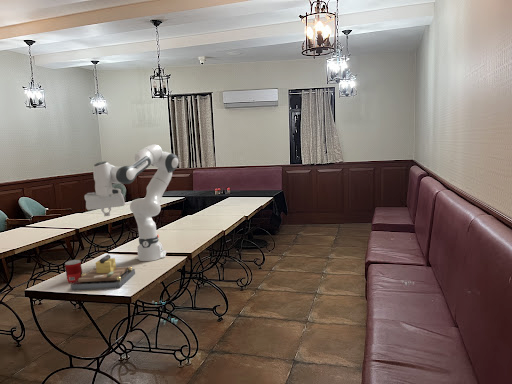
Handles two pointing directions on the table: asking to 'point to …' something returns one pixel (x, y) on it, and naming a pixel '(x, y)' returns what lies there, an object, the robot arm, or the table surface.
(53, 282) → the table surface
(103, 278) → the level plate
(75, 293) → the table surface
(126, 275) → the grey tray
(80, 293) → the table surface
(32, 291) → the table surface
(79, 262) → the canned food
